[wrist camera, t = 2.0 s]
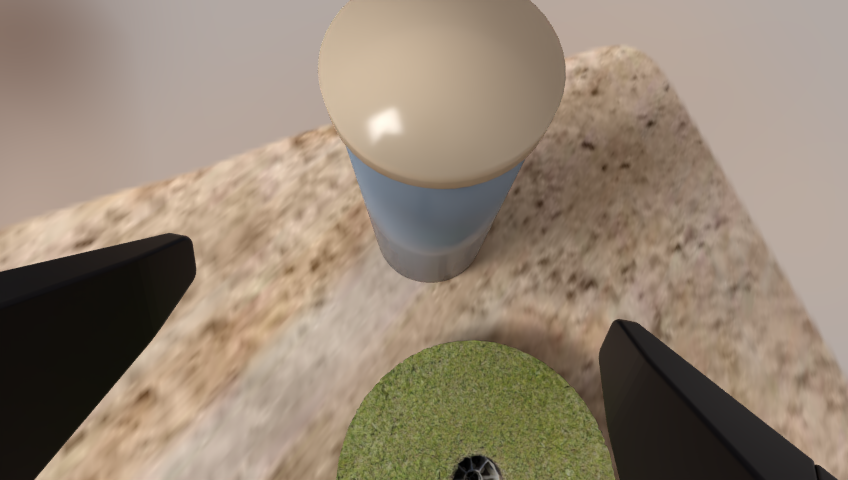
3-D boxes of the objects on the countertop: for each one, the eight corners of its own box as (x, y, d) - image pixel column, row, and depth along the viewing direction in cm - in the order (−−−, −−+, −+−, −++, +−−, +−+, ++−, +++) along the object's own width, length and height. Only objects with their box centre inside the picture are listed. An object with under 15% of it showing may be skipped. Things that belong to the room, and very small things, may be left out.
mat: (442, 701, 16) (445, 746, 14) (296, 440, 19) (282, 448, 17) (651, 508, 18) (678, 524, 16) (492, 297, 21) (499, 290, 19)
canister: (507, 242, 21) (617, 85, 10) (417, 308, 20) (413, 224, 8) (440, 161, 23) (464, -65, 11) (352, 219, 22) (272, 38, 10)
